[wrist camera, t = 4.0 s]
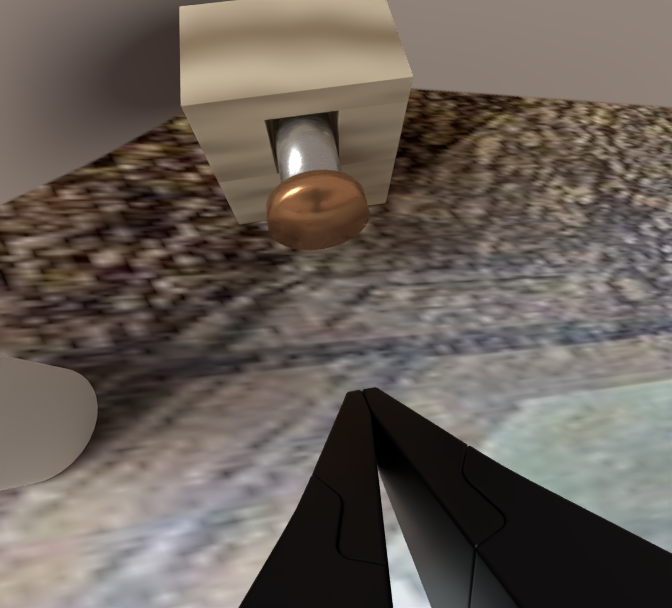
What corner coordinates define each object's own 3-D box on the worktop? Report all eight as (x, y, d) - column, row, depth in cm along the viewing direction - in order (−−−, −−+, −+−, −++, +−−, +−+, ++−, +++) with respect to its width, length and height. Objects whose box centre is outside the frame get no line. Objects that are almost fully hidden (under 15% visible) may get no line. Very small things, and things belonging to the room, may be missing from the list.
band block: (385, 202, 27) (413, 76, 17) (239, 224, 26) (180, 106, 17) (366, 129, 30) (380, -16, 20) (233, 147, 29) (179, 6, 19)
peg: (365, 242, 21) (374, 182, 16) (278, 255, 21) (257, 198, 16) (340, 133, 24) (341, 52, 19) (264, 143, 24) (243, 64, 19)
